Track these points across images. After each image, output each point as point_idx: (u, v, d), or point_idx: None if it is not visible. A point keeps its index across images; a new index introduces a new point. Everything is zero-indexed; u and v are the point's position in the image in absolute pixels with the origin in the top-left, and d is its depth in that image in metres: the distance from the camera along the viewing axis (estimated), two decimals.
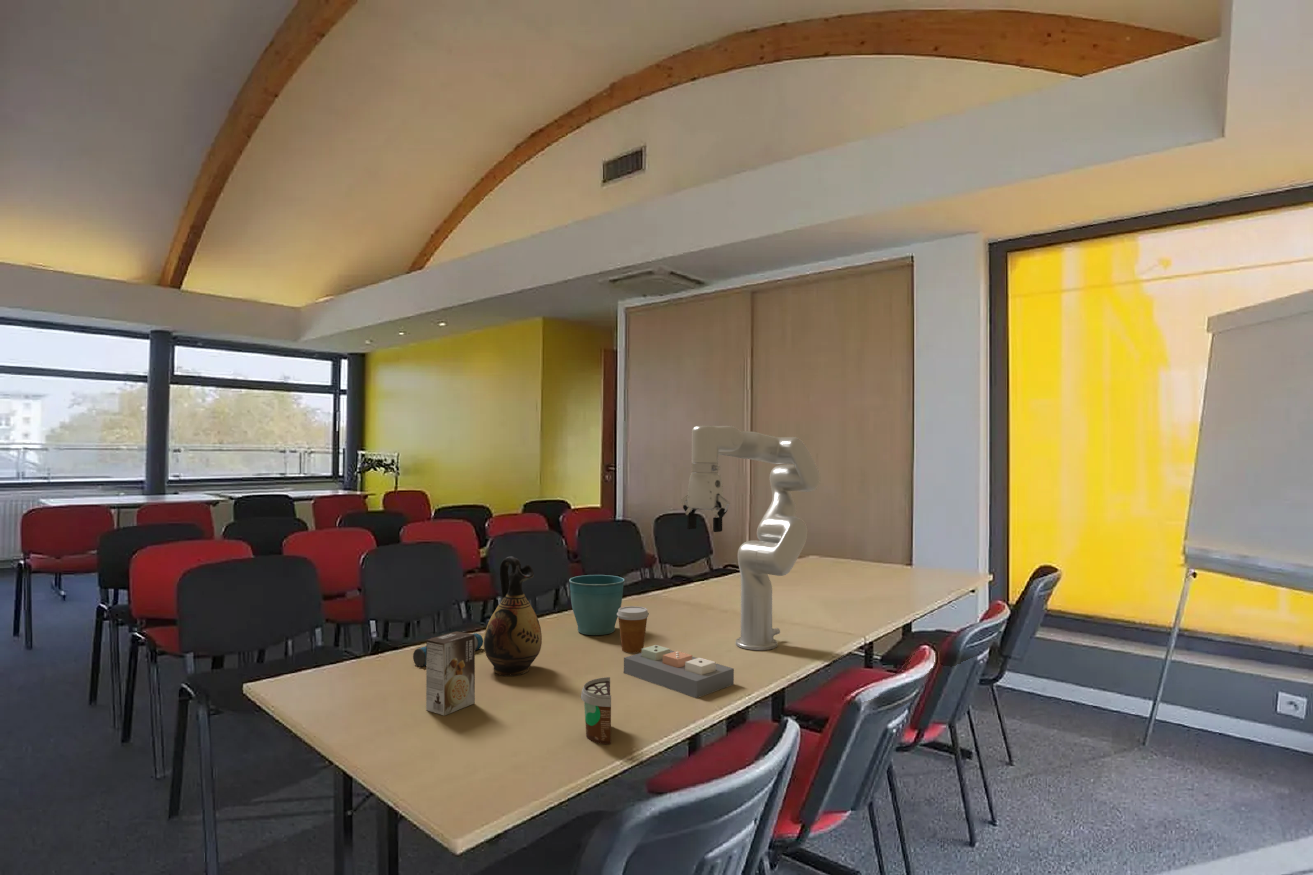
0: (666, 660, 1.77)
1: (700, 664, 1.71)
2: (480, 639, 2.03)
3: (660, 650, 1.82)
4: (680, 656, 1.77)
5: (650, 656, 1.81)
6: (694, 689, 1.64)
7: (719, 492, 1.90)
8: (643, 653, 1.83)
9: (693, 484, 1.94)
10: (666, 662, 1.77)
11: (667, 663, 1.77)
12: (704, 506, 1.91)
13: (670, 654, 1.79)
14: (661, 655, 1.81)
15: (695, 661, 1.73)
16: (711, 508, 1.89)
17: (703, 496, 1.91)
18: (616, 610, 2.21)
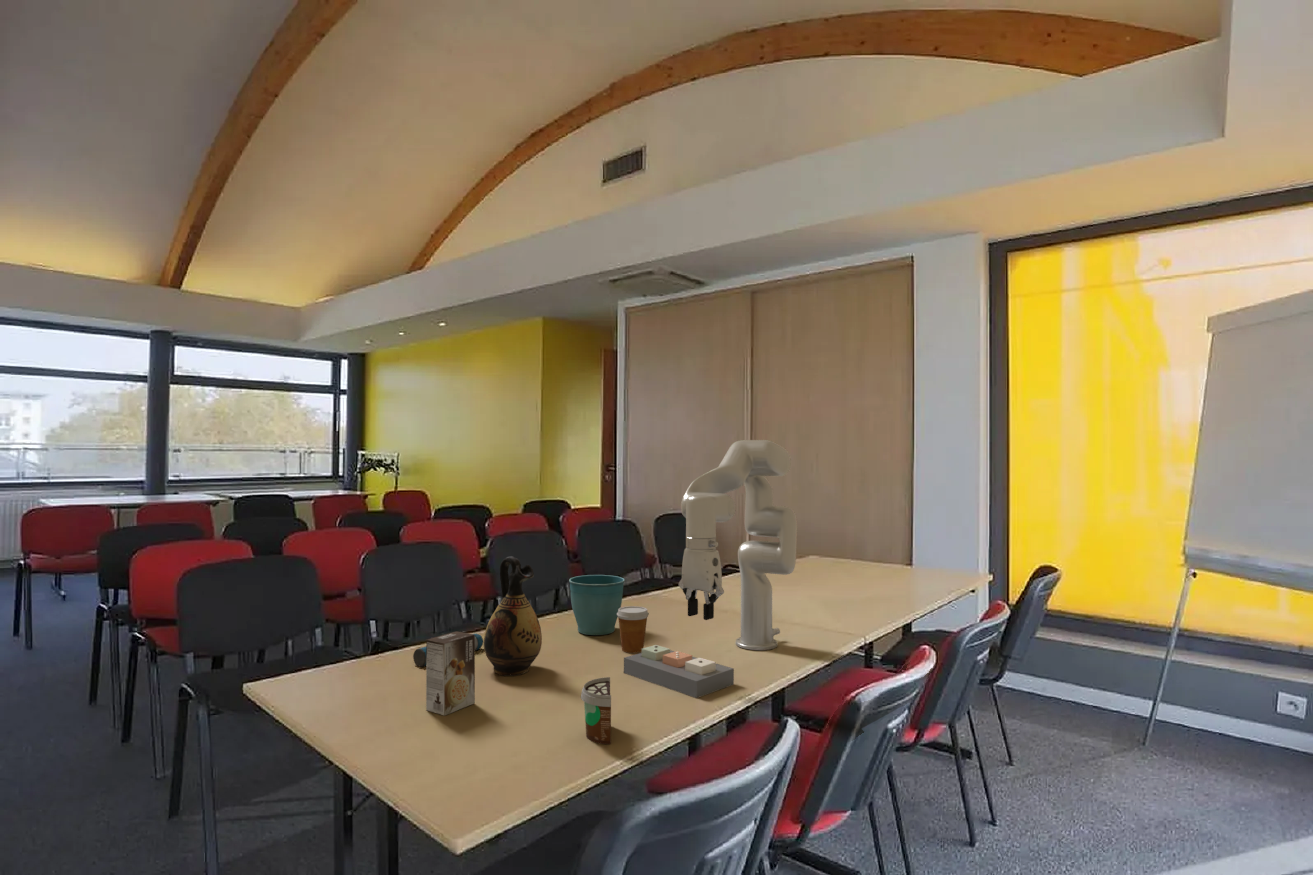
0: (666, 660, 1.77)
1: (700, 664, 1.71)
2: (480, 639, 2.02)
3: (660, 650, 1.82)
4: (680, 656, 1.77)
5: (650, 656, 1.81)
6: (694, 689, 1.64)
7: (716, 572, 1.70)
8: (643, 653, 1.83)
9: (688, 561, 1.73)
10: (666, 662, 1.77)
11: (667, 663, 1.77)
12: (700, 587, 1.70)
13: (670, 654, 1.79)
14: (661, 655, 1.81)
15: (695, 661, 1.73)
16: (708, 590, 1.69)
17: (699, 575, 1.70)
18: (616, 610, 2.21)
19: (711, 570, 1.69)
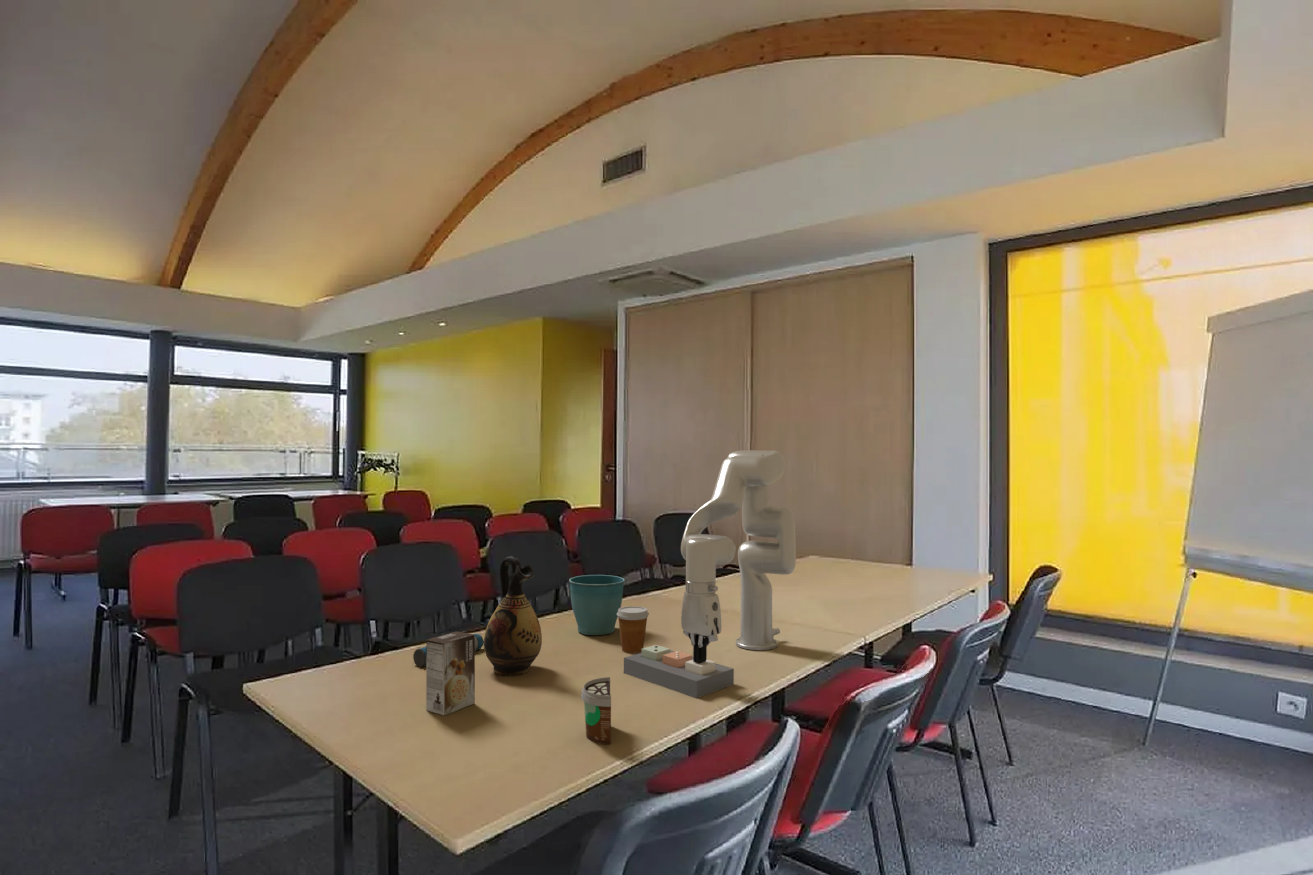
0: (666, 660, 1.77)
1: (700, 664, 1.71)
2: (480, 639, 2.02)
3: (660, 650, 1.82)
4: (680, 656, 1.77)
5: (650, 656, 1.81)
6: (694, 689, 1.64)
7: (716, 616, 1.69)
8: (643, 653, 1.83)
9: (688, 604, 1.72)
10: (666, 662, 1.77)
11: (667, 663, 1.77)
12: (699, 631, 1.70)
13: (670, 654, 1.79)
14: (661, 655, 1.81)
15: None
16: (707, 635, 1.68)
17: (699, 620, 1.70)
18: (616, 610, 2.21)
19: (711, 615, 1.68)
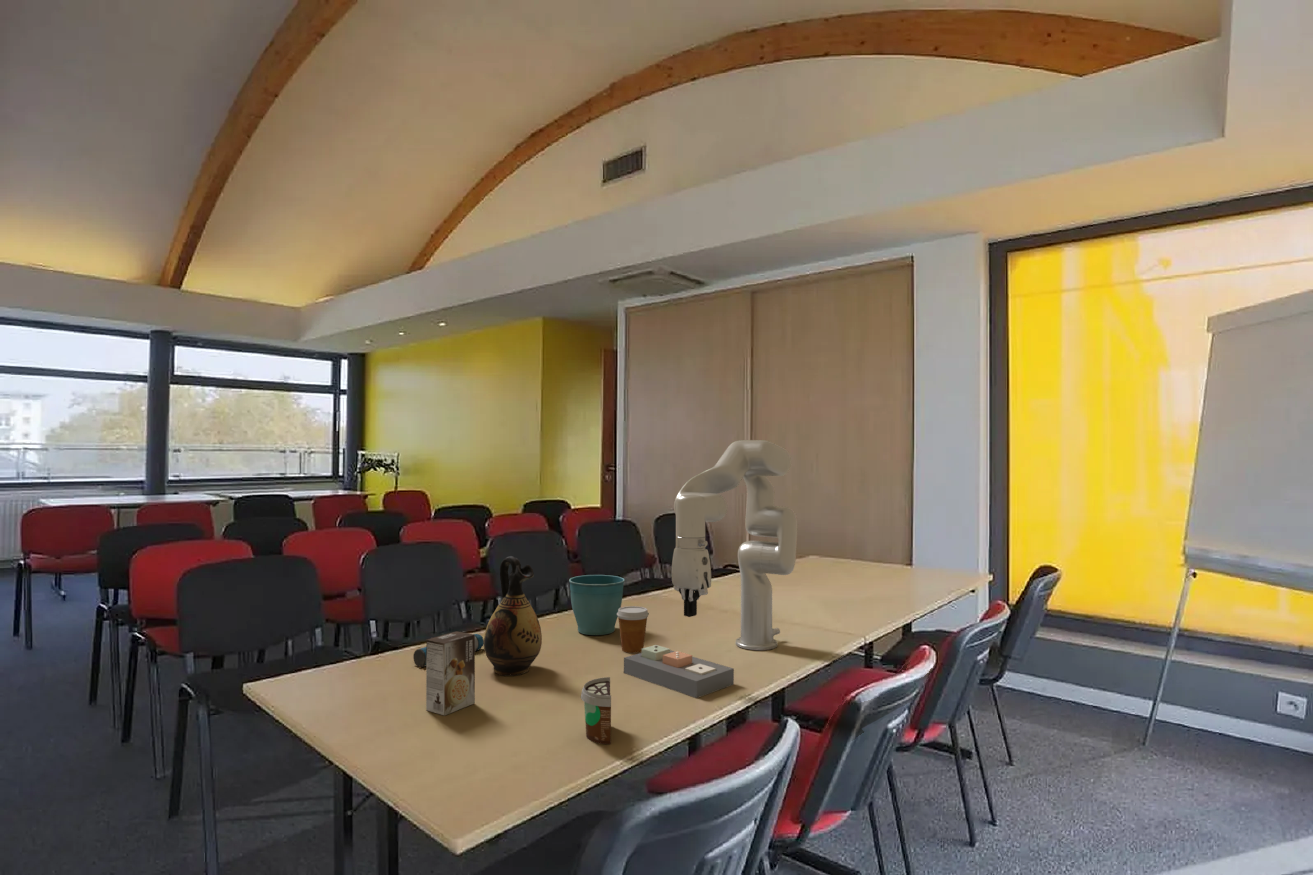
0: (666, 660, 1.77)
1: (700, 670, 1.71)
2: (481, 639, 2.02)
3: (660, 650, 1.82)
4: (680, 656, 1.77)
5: (650, 656, 1.81)
6: (694, 689, 1.64)
7: (706, 570, 1.72)
8: (643, 653, 1.83)
9: (678, 560, 1.75)
10: (666, 662, 1.77)
11: (667, 663, 1.77)
12: (690, 585, 1.73)
13: (670, 654, 1.79)
14: (661, 655, 1.81)
15: (695, 667, 1.73)
16: (698, 588, 1.71)
17: (689, 574, 1.73)
18: (616, 610, 2.21)
19: (701, 569, 1.71)
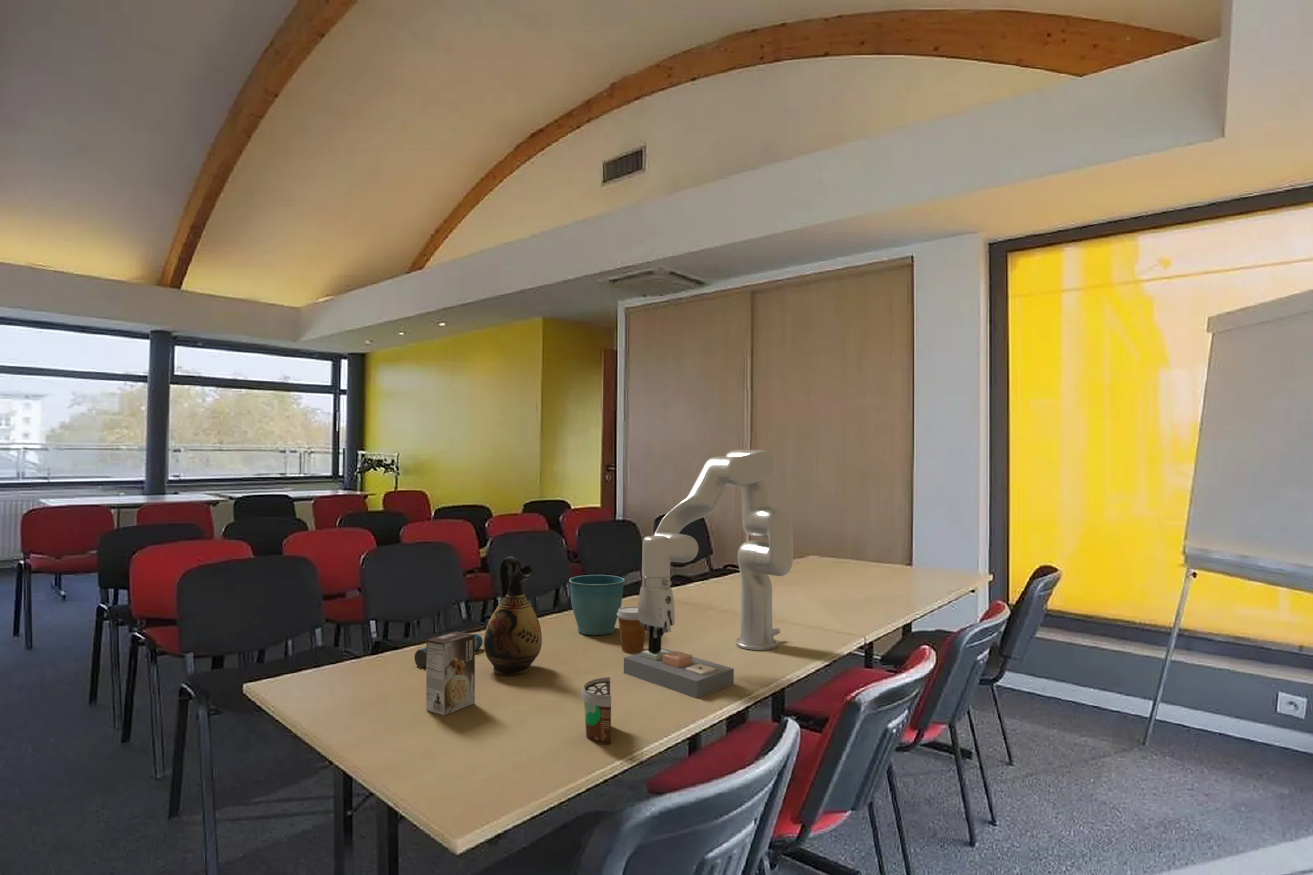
0: (666, 660, 1.77)
1: (700, 670, 1.71)
2: (480, 639, 2.02)
3: (660, 653, 1.82)
4: (680, 656, 1.77)
5: (650, 659, 1.81)
6: (694, 689, 1.64)
7: (669, 609, 1.81)
8: (643, 656, 1.83)
9: (643, 598, 1.84)
10: (666, 662, 1.77)
11: (667, 663, 1.77)
12: (654, 623, 1.81)
13: (670, 654, 1.79)
14: (661, 658, 1.81)
15: (695, 667, 1.73)
16: (661, 626, 1.80)
17: (653, 612, 1.81)
18: (616, 610, 2.21)
19: (664, 607, 1.80)
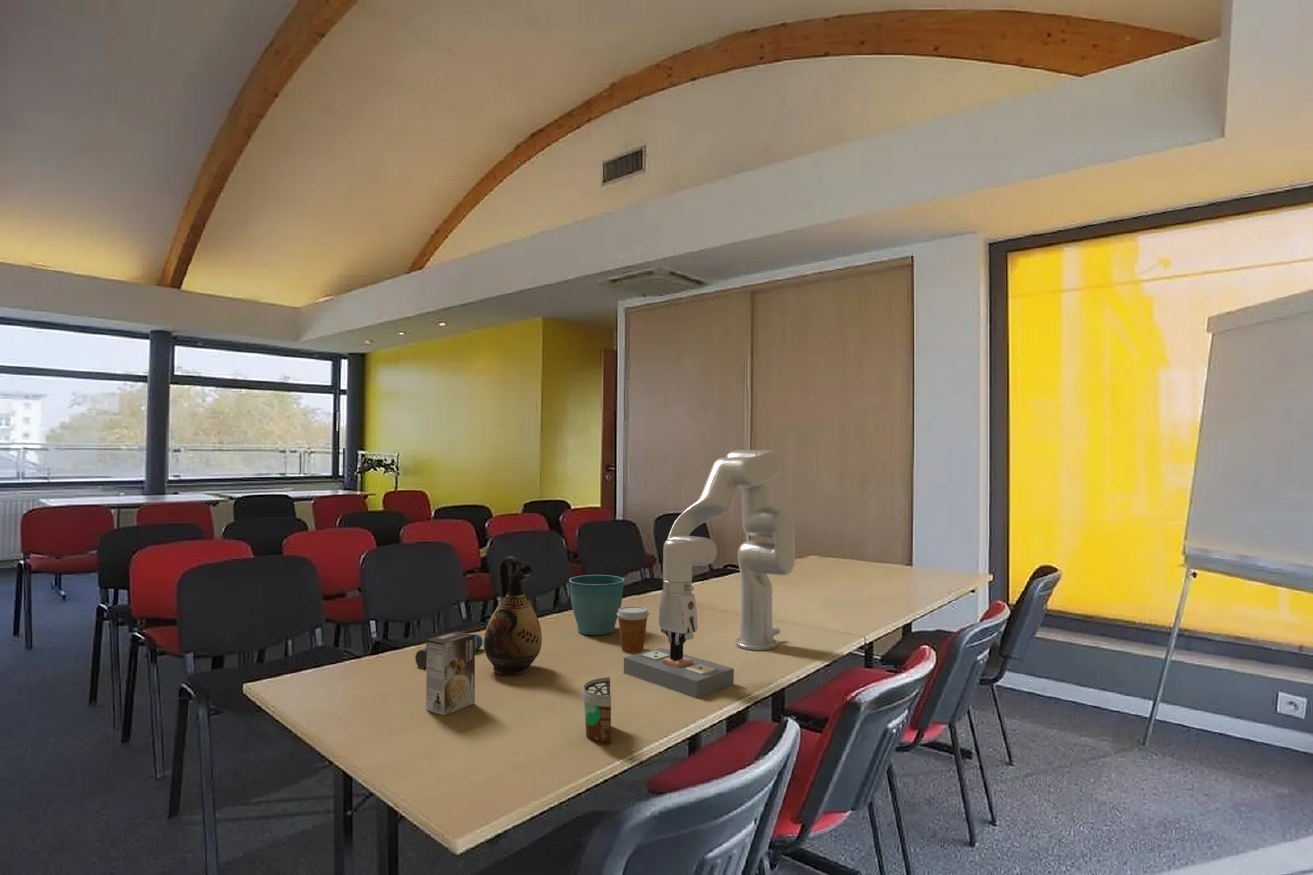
0: (666, 664, 1.77)
1: (700, 670, 1.71)
2: (480, 639, 2.02)
3: (660, 656, 1.82)
4: (680, 660, 1.77)
5: None
6: (694, 689, 1.64)
7: (692, 615, 1.75)
8: None
9: (665, 603, 1.78)
10: None
11: None
12: (676, 629, 1.75)
13: None
14: None
15: (695, 667, 1.73)
16: (683, 633, 1.74)
17: (675, 618, 1.75)
18: (616, 610, 2.21)
19: (686, 613, 1.74)
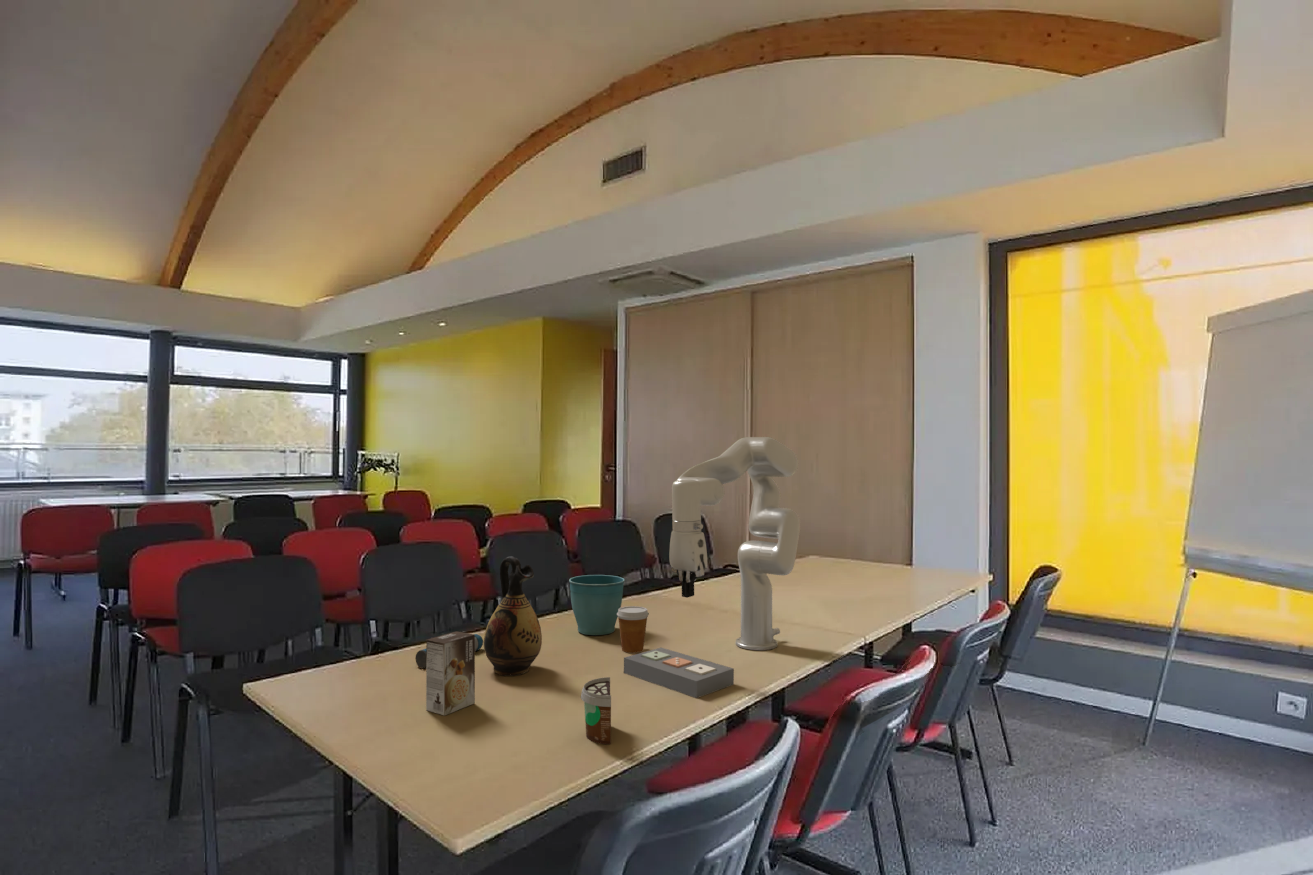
0: None
1: (700, 670, 1.71)
2: (480, 640, 2.02)
3: (660, 656, 1.82)
4: (680, 662, 1.77)
5: None
6: (694, 689, 1.64)
7: (702, 552, 1.78)
8: None
9: (675, 543, 1.81)
10: None
11: None
12: (687, 567, 1.79)
13: (670, 660, 1.79)
14: None
15: (695, 667, 1.73)
16: (694, 570, 1.77)
17: (686, 556, 1.78)
18: (616, 610, 2.21)
19: (697, 551, 1.77)
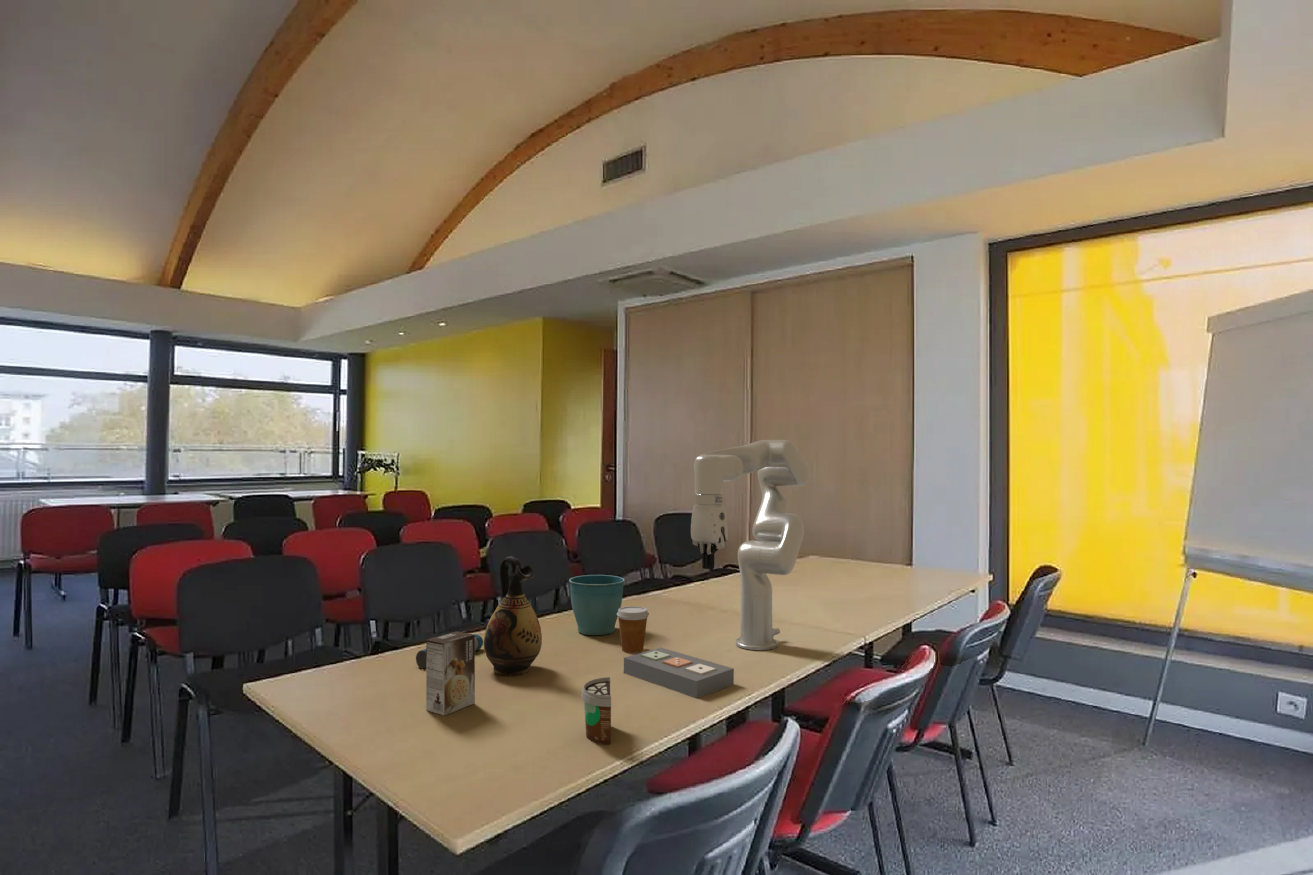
0: None
1: (700, 670, 1.71)
2: (480, 640, 2.02)
3: (660, 656, 1.82)
4: (680, 662, 1.77)
5: None
6: (694, 689, 1.64)
7: (723, 525, 1.84)
8: None
9: (697, 516, 1.87)
10: None
11: None
12: (708, 539, 1.84)
13: (670, 660, 1.79)
14: None
15: (695, 667, 1.73)
16: (715, 542, 1.83)
17: (707, 529, 1.84)
18: (616, 610, 2.21)
19: (718, 523, 1.83)
